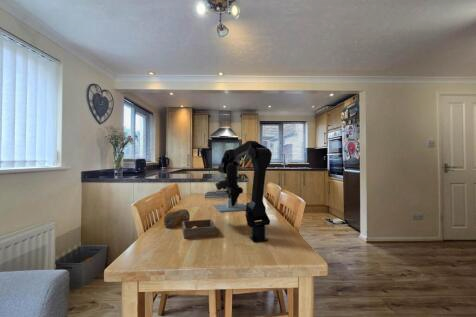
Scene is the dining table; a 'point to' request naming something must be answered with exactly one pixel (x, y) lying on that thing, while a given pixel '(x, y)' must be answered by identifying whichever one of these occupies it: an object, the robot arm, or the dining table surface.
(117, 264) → the dining table surface
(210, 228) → the box
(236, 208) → the lid
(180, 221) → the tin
